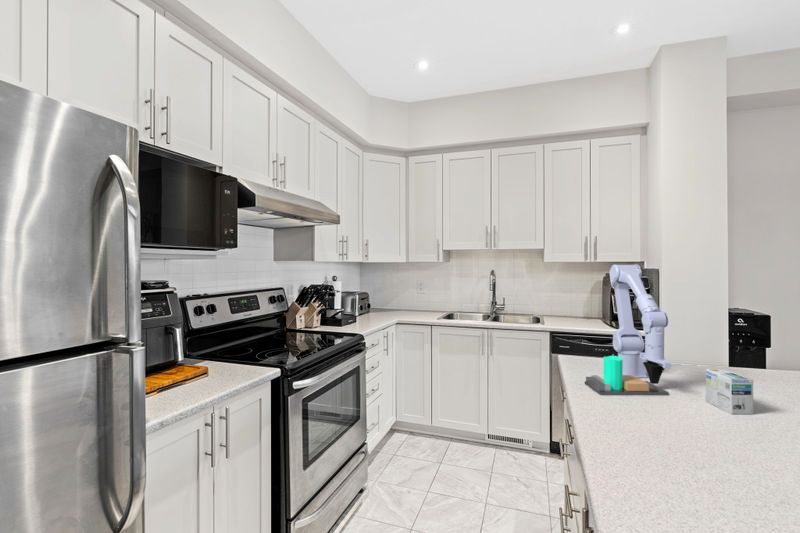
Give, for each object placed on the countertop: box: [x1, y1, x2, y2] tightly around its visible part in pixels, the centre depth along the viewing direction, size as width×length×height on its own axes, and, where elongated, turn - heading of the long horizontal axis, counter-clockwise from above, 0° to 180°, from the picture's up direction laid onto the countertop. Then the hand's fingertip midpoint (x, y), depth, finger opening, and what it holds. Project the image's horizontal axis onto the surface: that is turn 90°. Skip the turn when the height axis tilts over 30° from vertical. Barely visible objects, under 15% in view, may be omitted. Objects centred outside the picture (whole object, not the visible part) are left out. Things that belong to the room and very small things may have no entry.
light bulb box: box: [705, 368, 754, 415], centre depth 122 cm, size 11×7×11 cm, turn 179°
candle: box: [603, 355, 623, 390], centre depth 139 cm, size 6×6×12 cm
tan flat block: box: [622, 375, 649, 391], centre depth 140 cm, size 7×10×2 cm
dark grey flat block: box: [584, 375, 670, 396], centre depth 140 cm, size 23×12×4 cm, turn 89°
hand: (654, 383), depth 140 cm, fingers closed
